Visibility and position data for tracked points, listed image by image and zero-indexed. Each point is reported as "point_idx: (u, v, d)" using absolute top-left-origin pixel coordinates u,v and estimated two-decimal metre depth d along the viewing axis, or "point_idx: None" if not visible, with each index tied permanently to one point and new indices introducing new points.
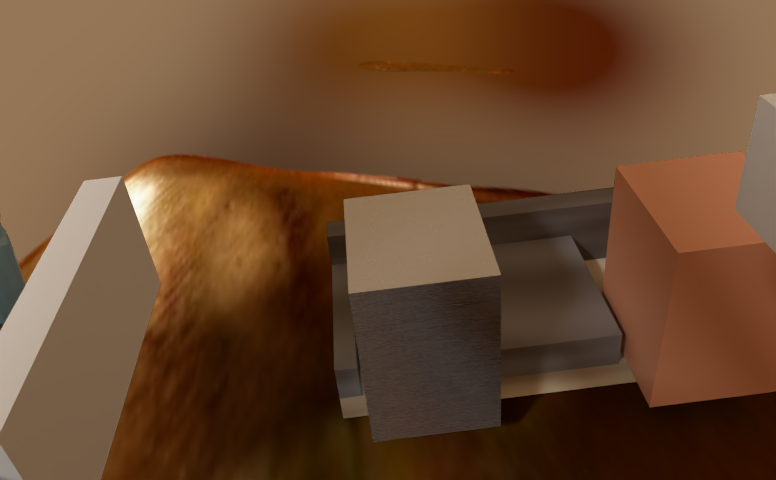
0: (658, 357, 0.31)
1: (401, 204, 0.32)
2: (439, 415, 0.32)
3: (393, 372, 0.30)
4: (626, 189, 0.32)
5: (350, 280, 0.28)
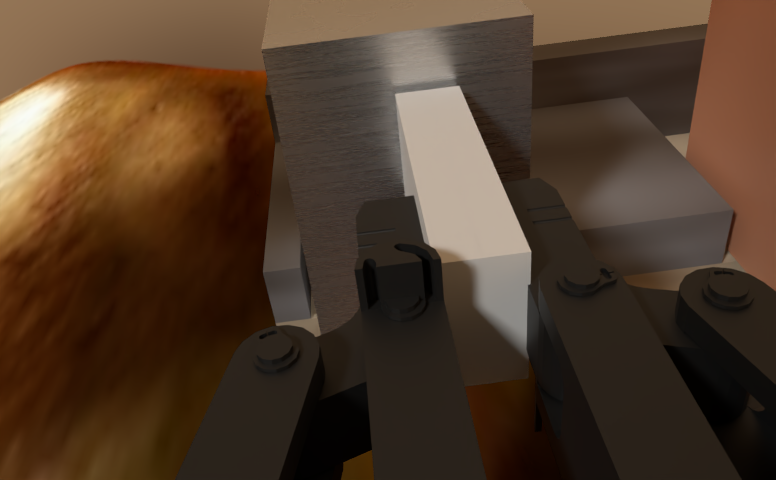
0: None
1: None
2: None
3: (351, 218, 0.18)
4: None
5: (268, 36, 0.16)
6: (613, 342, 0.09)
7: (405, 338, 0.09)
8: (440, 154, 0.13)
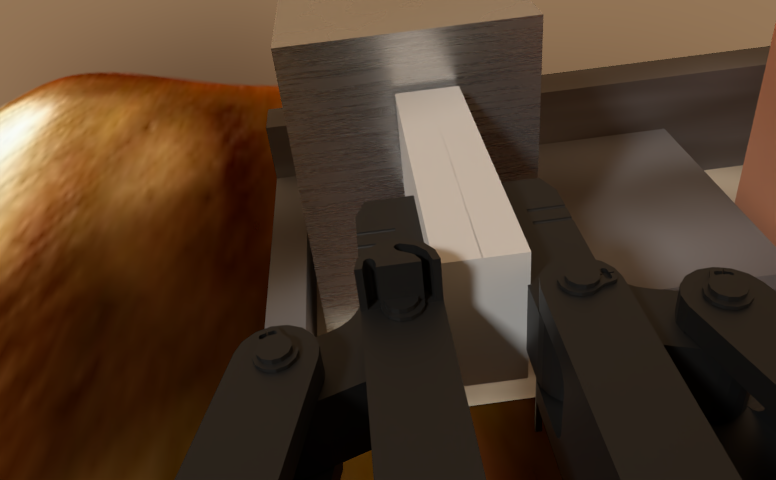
0: None
1: None
2: None
3: None
4: None
5: (277, 35, 0.16)
6: (613, 342, 0.09)
7: (404, 338, 0.09)
8: (440, 154, 0.13)
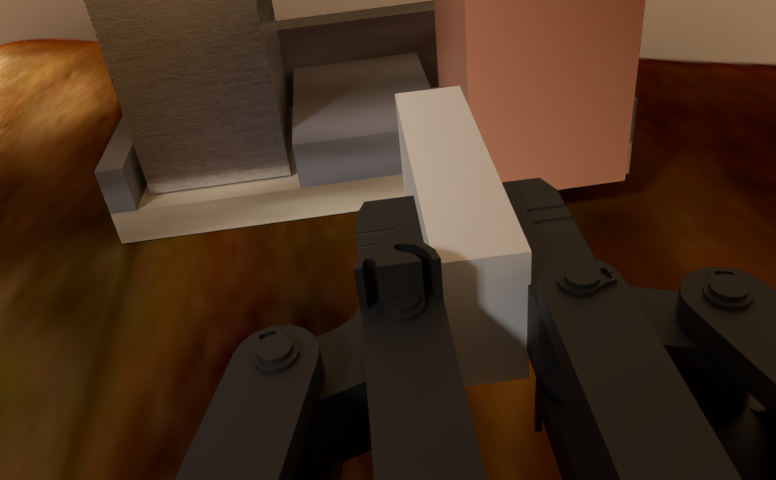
0: None
1: None
2: (218, 157, 0.29)
3: (153, 94, 0.27)
4: None
5: None
6: (613, 342, 0.09)
7: (405, 338, 0.09)
8: (440, 154, 0.13)
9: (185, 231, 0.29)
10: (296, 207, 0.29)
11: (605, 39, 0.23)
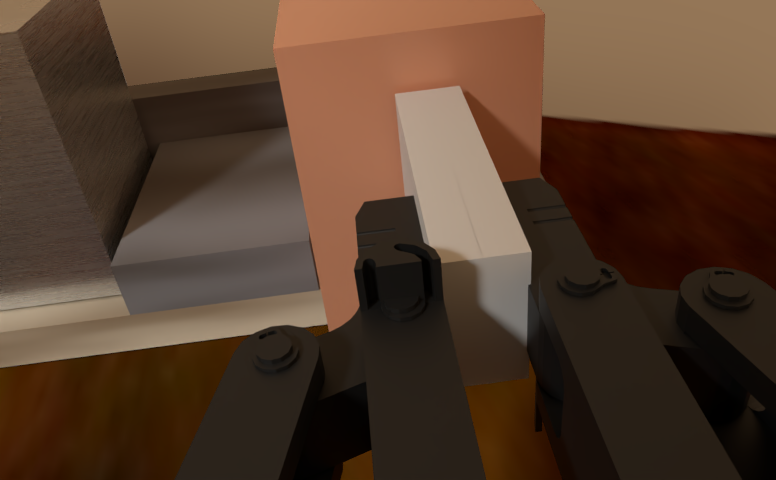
0: None
1: None
2: (26, 275, 0.23)
3: None
4: None
5: None
6: (613, 342, 0.09)
7: (404, 338, 0.09)
8: (440, 154, 0.13)
9: None
10: (129, 336, 0.23)
11: (490, 154, 0.17)
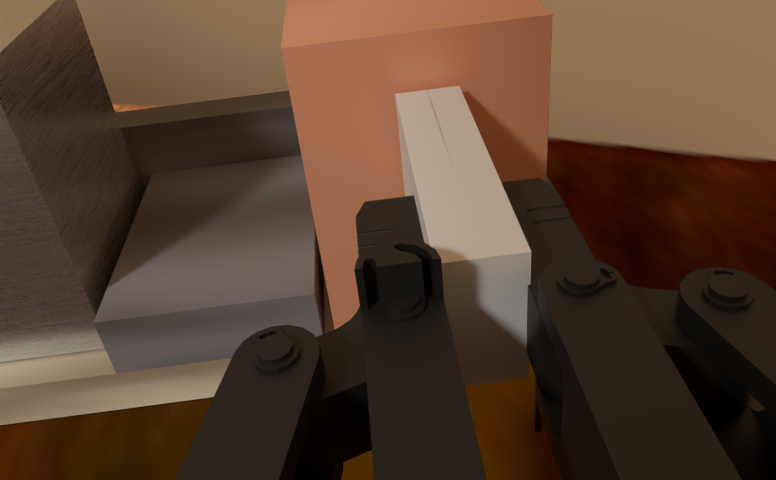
0: (321, 258, 0.18)
1: None
2: (1, 329, 0.21)
3: None
4: None
5: None
6: (613, 342, 0.09)
7: (405, 338, 0.09)
8: (440, 154, 0.13)
9: None
10: (115, 395, 0.21)
11: (497, 153, 0.17)
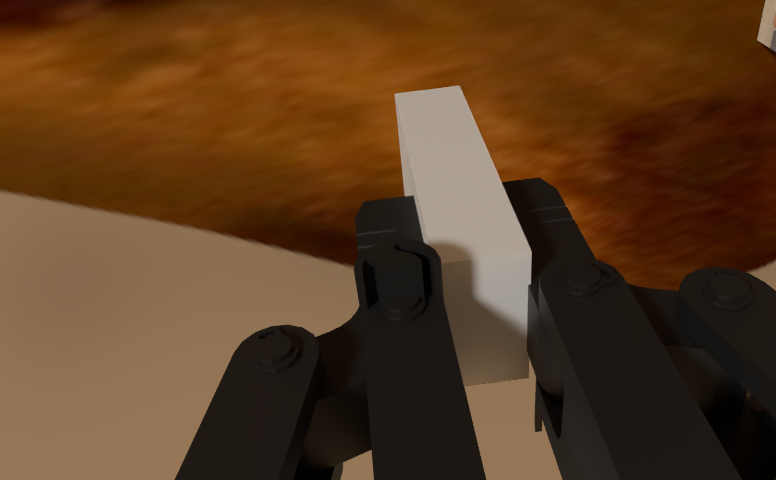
0: None
1: None
2: None
3: None
4: None
5: None
6: (613, 342, 0.09)
7: (405, 338, 0.09)
8: (440, 154, 0.13)
9: None
10: None
11: None
